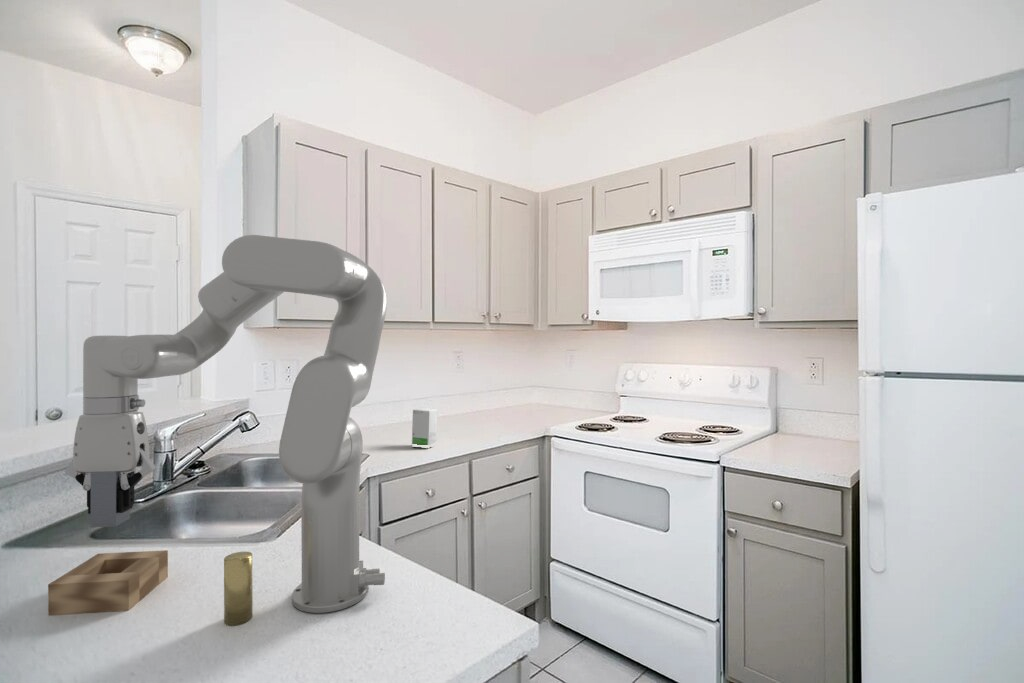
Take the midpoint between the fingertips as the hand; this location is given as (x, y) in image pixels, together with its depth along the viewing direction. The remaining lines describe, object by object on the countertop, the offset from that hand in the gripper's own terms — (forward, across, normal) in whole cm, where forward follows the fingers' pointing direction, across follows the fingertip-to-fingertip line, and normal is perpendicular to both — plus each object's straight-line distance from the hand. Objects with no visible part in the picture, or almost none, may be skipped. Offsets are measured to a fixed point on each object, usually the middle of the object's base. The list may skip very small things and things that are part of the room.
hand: (110, 509), depth 90 cm
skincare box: (+15, -49, -116) cm, 127 cm away
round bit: (+15, -25, +11) cm, 31 cm away
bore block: (+15, 0, 0) cm, 15 cm away
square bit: (+2, 0, 0) cm, 2 cm away
